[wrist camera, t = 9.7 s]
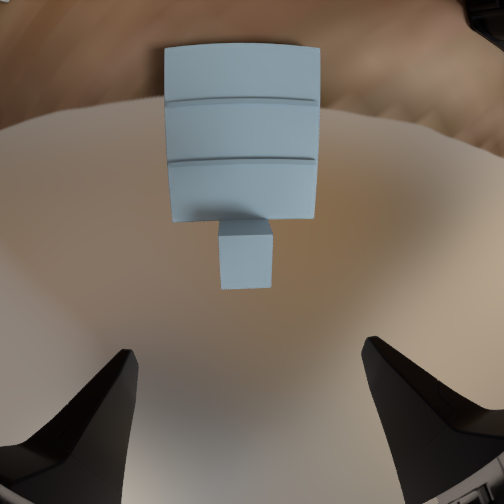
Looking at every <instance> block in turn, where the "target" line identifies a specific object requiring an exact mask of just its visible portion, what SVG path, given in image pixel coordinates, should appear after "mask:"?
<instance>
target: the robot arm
mask: <svg viewBox="0 0 504 504" xmlns="http://www.w3.org/2000/svg"><path fill="white" fill-rule="evenodd" d="M465 1H466V6H467V11H468V16H469V21H470V26H471V28H472V29H473V30H474V31H475V32H477V33H478V34H480V35H481V36H483V37H484V38H486V39H487V40H489V41H490V42H492V43H493V44H494V45H496V46H497V47H499V48H500V49H501V50H503V51H504V0H465ZM361 356H362V360H363V364H364V368H365V372H366V376H367V381H368V384H369V388H370V391H371V394H372V397H373V400H374V403H375V405H376V408H377V411H378V414H379V417H380V420H381V423H382V426H383V429H384V432H385V435H386V438H387V441H388V444H389V447H390V450H391V454H392V457H393V461H394V464H395V467H396V470H397V474H398V478H399V482H400V485H401V489H402V492H403V496H404V500H405V504H423V503H425V502H427V501H429V500H430V499H432V498H434V497H437V499H438V502H439V504H504V409H503V410H489V409H485V408H483V407H481V406H479V405H477V404H475V403H474V402H472V401H470V400H468V399H467V398H465V397H463V396H461V395H460V394H458V393H457V392H455V391H453V390H452V389H450V388H449V387H448V386H446V385H445V384H443V383H442V382H440V381H438V380H437V379H436V378H435V377H433V376H432V375H431V374H429V373H428V372H426V371H425V370H424V369H422V368H421V367H419V366H418V365H416V364H415V363H414V362H412V361H411V360H410V359H408V358H407V357H405V356H404V355H403V354H401V353H400V352H399V351H397V350H396V349H394V348H393V347H392V346H390V345H389V344H387V343H386V342H385V341H383V340H382V339H380V338H379V337H377V336H371V337H368V338H366V340H365V343H364V346H363V349H362V353H361ZM137 380H138V362H137V360H136V357H135V355H134V352H133V351H132V350H131V349H122V350H120V351H119V352H118V353H117V354H116V355H115V356H114V357H113V358H112V359H111V360H110V361H109V362H108V363H107V364H106V365H105V366H104V367H103V368H102V369H101V370H100V371H99V372H98V373H97V374H96V375H95V376H94V377H93V378H92V379H91V380H90V381H89V382H88V383H87V384H86V385H85V386H84V387H83V388H82V389H81V390H80V392H78V393H77V395H76V396H75V397H74V398H73V399H72V400H71V401H70V402H69V403H68V405H66V406H65V407H64V408H63V409H62V410H61V411H60V412H59V413H58V414H57V415H56V416H55V417H54V418H53V419H52V420H50V421H49V422H48V423H47V424H46V425H45V426H43V427H42V428H41V429H40V430H39V431H37V432H36V433H35V434H34V435H32V436H31V437H30V438H29V439H28V440H26V441H25V442H23V443H20V444H17V445H11V446H3V447H0V504H121V498H122V487H123V479H124V471H125V463H126V456H127V449H128V442H129V437H130V430H131V425H132V419H133V413H134V408H135V402H136V391H137Z"/></svg>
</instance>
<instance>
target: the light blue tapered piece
mask: <svg viewBox="0 0 504 504" xmlns="http://www.w3.org/2000/svg"><path fill="white" fill-rule="evenodd" d="M164 98H165V129H166V149H167V165H168V178H169V190H170V202H171V212H172V221H173V222H193V221H216V220H217V221H218V220H220V223H219V233H218V240H219V258H220V274H221V289H244V288H269V287H271V274H272V273H271V272H272V249H273V233H272V230H271V227H270V224H269V222H268V219H314V209H315V196H316V182H317V167H318V148H319V122H320V48H313V47H305V46H295V45H283V44H266V43H218V44H201V45H189V46H179V47H171V48H165V60H164Z"/></svg>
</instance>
